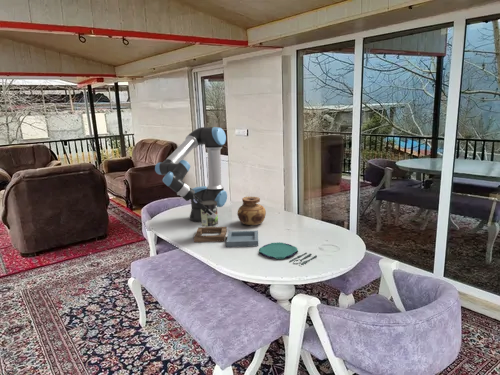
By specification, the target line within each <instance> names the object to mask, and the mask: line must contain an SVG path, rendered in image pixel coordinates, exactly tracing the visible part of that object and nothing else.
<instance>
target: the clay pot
mask: <svg viewBox="0 0 500 375" xmlns="http://www.w3.org/2000/svg"><path fill="white" fill-rule="evenodd" d="M241 199H242V205H241V206H240V207H238V209H237V218H238V220H239V221H240V222H241V223H242V224H243V225H246V226H258V225H260V224H262V223H263V222H264V221H265V218H266V214H267V213H266V208H265V207H264V206H263V205H261V204H259V203H260V201H261V199H260V197H258V196H245V197H242V198H241Z"/></svg>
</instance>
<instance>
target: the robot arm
mask: <svg viewBox="0 0 500 375" xmlns="http://www.w3.org/2000/svg"><path fill="white" fill-rule="evenodd" d="M226 142H227V136H226V132H225V131H224V129H223V128H222V127H219V126H218V127H217V126H211V127H209V126H207V127H205V126H202V127H198V128H196V129H194V130H193V131H192V132H190V133H189V134H188V135H187V136H185V140H184V141H183V142H182V143H181V144H179V146H178V147H176V149H175V150H174V151H173V152H172V153H171V154H170V155H169V156H167V158H166V159H164V161H163V162H162V161H161V162H160V161H159V162H157V163H156V164H155V166H154V171H155V173H156V174H157V175H161V176H164V177H163V178H162V183H164V185H166V186H167V187H168V188H170V189H171V190H172V191H173V192H175V193H176V195H177V196H180V197H181V198H182V199H184V200H185V201H186V202H189V201H190V204H191V205H190V206H191V210H190V213H189V221H190V222H195V223H202V221H201V209H202V210H203V211H204V212H205V214H206V213H207V214H208V215H210V216H211V217H212V218H213V219H215V218H216V217H217V215H216V214H215V213H213V212H212V211H211V210H210V209H208V208H207V207H206V206H204V205H203V204H202V203H201V202H203V201H209V200H212V201H216V202H217V208H222V207H223V206H225V204H226V203H227V200H228V192H227V191H226V190H224V186H223V185H222V166H221V165H222V162H221V159H222V158H221V156H222V155H221V149H223V147H224V146H223V145H225V144H226ZM202 145H204V147H205V149H206V150H207V172H208V173H207V176H208V185H207V186H206V185H204V186H202V185H201V186H195V187H192V188H191V186H190V185H188V184H187V183H185V181H183V180H184V178H185V177H186V176H187V174H188V172H189V171H190V168H191V164H190V163H189V162H188V160H186V159H185V158H186V157H187V156H188V155H189V154H190V152H191V151H193V149H196V148H197V147H198V146H202Z"/></svg>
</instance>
